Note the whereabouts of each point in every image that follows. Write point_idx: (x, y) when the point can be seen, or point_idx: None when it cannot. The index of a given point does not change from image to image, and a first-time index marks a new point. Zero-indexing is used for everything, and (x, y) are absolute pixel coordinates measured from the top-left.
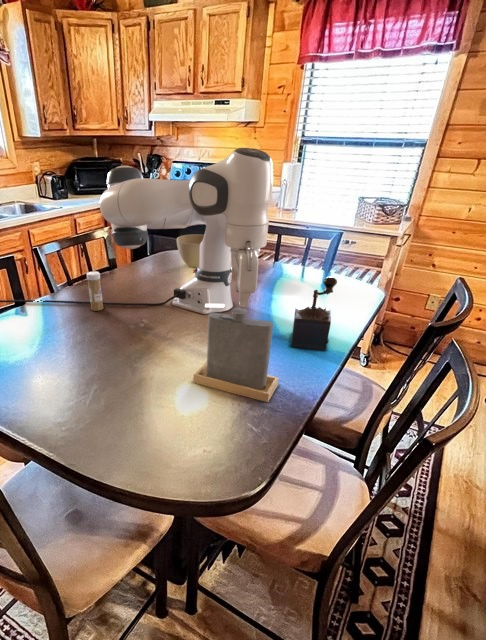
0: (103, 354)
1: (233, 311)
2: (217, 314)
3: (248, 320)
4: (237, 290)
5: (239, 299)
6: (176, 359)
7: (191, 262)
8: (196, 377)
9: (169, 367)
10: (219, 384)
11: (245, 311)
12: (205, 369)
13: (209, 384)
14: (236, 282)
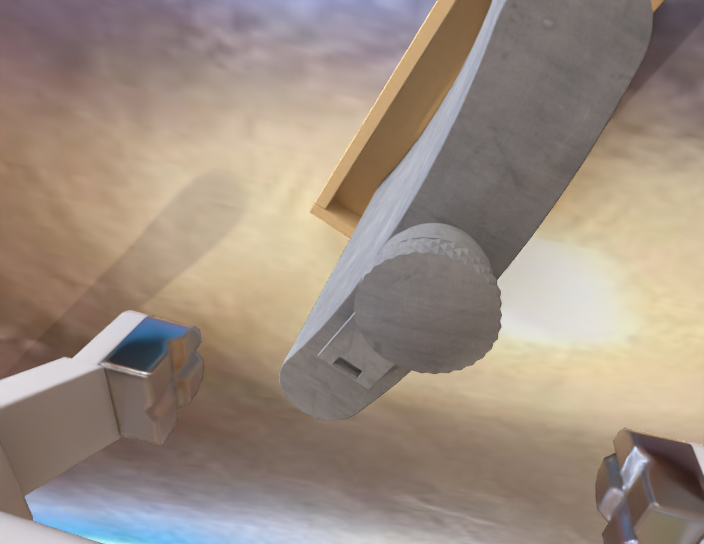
0: (235, 459)
1: (429, 368)
2: (311, 372)
3: (451, 198)
4: (192, 385)
5: (603, 541)
6: (256, 288)
7: None
8: None
9: None
10: None
11: (448, 277)
12: (356, 219)
13: None
14: (103, 445)
